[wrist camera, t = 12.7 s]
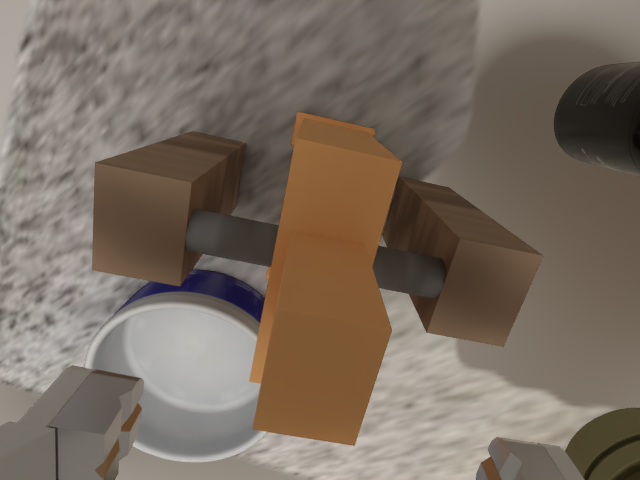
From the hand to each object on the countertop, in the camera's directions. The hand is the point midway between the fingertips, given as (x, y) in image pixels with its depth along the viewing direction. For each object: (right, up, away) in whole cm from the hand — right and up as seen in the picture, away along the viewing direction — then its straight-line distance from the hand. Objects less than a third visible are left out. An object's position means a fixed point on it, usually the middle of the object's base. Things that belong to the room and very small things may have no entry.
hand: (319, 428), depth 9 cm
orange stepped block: (0, +7, +19) cm, 20 cm away
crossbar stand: (0, +8, +22) cm, 24 cm away
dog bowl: (-10, -5, +27) cm, 30 cm away
